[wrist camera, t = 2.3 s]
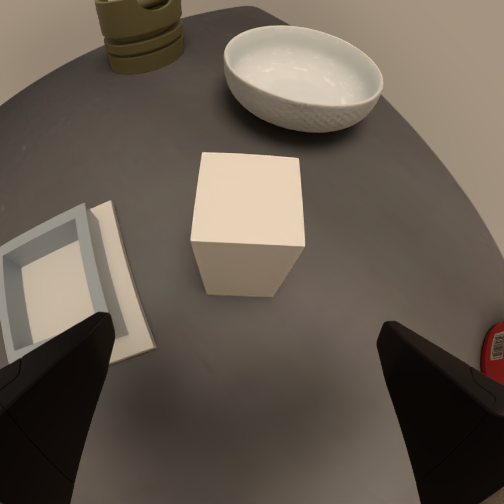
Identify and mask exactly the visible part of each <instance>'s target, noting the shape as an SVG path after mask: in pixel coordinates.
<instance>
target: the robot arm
mask: <svg viewBox="0 0 504 504" xmlns="http://www.w3.org/2000/svg"><path fill="white" fill-rule="evenodd" d="M114 342H115V329H114V325H113V321H112V317H111V315H110V313H108V312H101V311H99V312H96V313H95V314H93V315H91V316H89V317H88V318H86V319H84V320H83V321H81V322H79V323H77V324H76V325H74V326H72V327H71V328H69V329H67V330H65V331H64V332H62V333H60V334H59V335H57V336H55V337H54V338H52V339H50V340H49V341H47V342H45V343H44V344H42V345H40V346H39V347H37V348H35V349H34V350H32V351H30V352H29V353H27V354H25V355H24V356H22V358H19V359H17V360H16V361H14V362H12V363H11V364H9V365H7V366H5V367H4V368H2V369H0V504H70V503H71V498H72V493H73V489H74V483H75V479H76V475H77V471H78V467H79V463H80V459H81V455H82V452H83V448H84V444H85V441H86V437H87V434H88V431H89V427H90V424H91V421H92V417H93V414H94V411H95V408H96V405H97V402H98V399H99V396H100V393H101V390H102V387H103V384H104V381H105V378H106V375H107V371H108V366H109V362H110V358H111V354H112V350H113V346H114ZM377 349H378V353H379V357H380V361H381V365H382V370H383V374H384V378H385V382H386V385H387V388H388V391H389V394H390V397H391V400H392V403H393V406H394V409H395V412H396V415H397V418H398V421H399V424H400V428H401V431H402V434H403V437H404V441H405V444H406V448H407V451H408V455H409V458H410V462H411V465H412V469H413V473H414V477H415V481H416V485H417V490H418V494H419V498H420V502H421V504H504V385H503V384H501V383H499V382H497V381H495V380H494V379H492V378H490V377H488V376H486V375H485V374H483V373H481V372H480V371H478V370H476V369H475V368H473V367H471V366H469V365H468V364H466V363H465V362H463V361H461V360H460V359H458V358H457V357H455V356H453V355H452V354H450V353H448V352H447V351H445V350H443V349H442V348H440V347H438V346H437V345H435V344H433V343H432V342H430V341H428V340H427V339H425V338H423V337H422V336H420V335H418V334H417V333H415V332H413V331H412V330H410V329H408V328H407V327H405V326H403V325H402V324H400V323H398V322H397V321H386V322H384V324H383V326H382V328H381V331H380V334H379V336H378V339H377Z"/></svg>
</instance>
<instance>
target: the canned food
mask: <svg viewBox="0 0 504 504" xmlns="http://www.w3.org/2000/svg"><path fill="white" fill-rule="evenodd" d="M481 367H482V373H483V374H485V375H486V376H488V377H490V378H492V379H494V380H495V381H497V382H499V383H501V384H503V385H504V321H503V322H500V323H498V324H497V325H496V326H494V327H493V328H492V329H491V330H490V331H489V333H488V335H487V337H486V339H485V342H484V345H483V350H482V357H481Z"/></svg>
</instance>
